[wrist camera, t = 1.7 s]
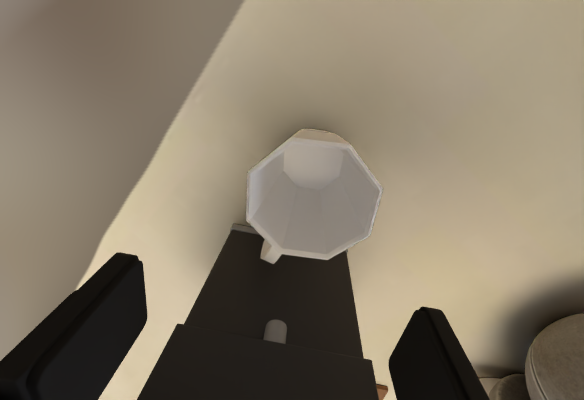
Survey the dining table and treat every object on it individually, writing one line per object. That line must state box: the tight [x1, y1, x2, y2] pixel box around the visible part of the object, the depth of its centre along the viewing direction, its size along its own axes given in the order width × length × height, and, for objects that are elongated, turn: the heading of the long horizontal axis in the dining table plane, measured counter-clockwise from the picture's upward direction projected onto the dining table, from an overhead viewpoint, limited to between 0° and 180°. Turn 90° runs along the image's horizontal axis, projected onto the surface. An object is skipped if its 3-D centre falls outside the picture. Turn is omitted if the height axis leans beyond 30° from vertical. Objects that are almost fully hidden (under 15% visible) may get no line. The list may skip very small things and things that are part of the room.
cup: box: [246, 128, 383, 264], centre depth 18 cm, size 7×10×8 cm
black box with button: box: [137, 224, 379, 400], centre depth 18 cm, size 8×10×16 cm
